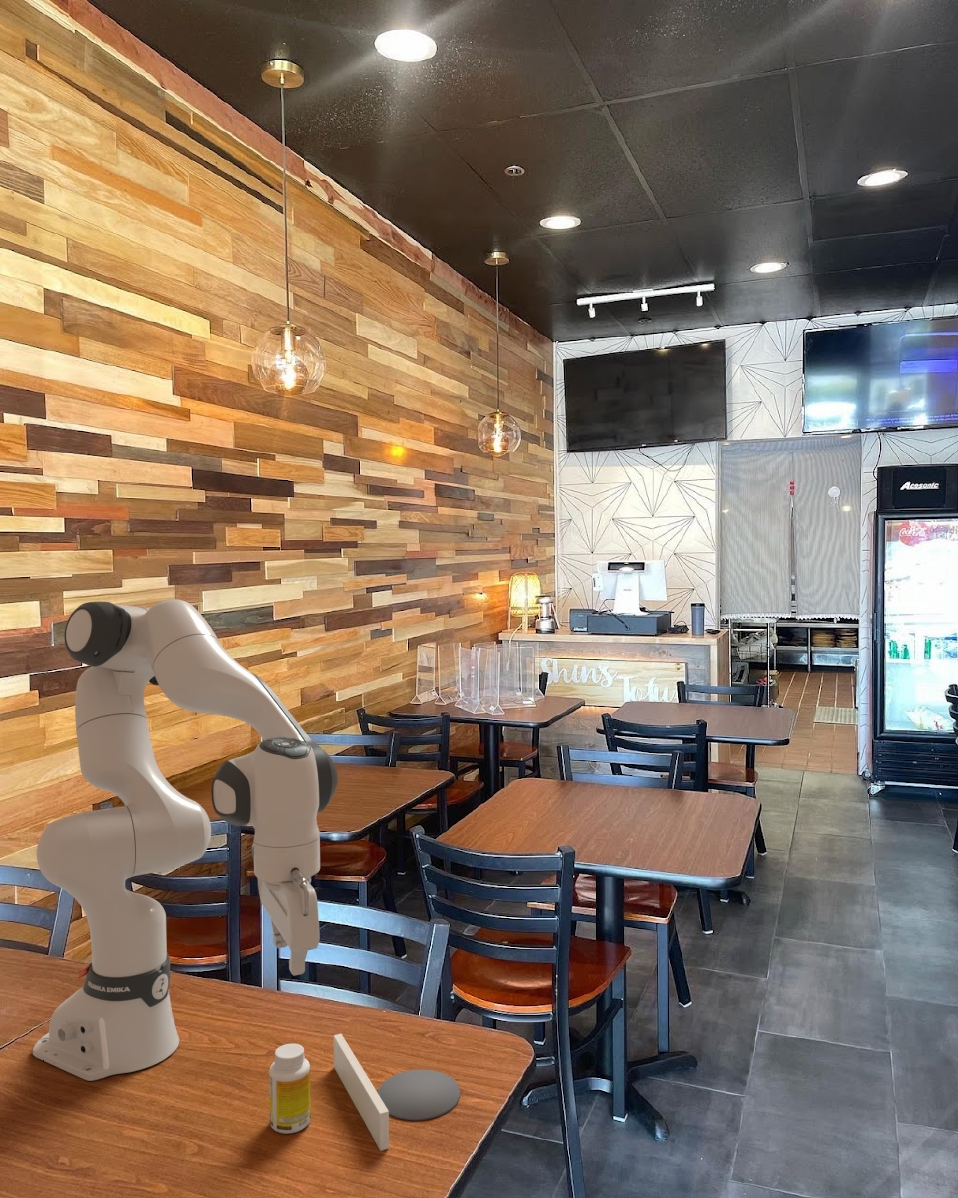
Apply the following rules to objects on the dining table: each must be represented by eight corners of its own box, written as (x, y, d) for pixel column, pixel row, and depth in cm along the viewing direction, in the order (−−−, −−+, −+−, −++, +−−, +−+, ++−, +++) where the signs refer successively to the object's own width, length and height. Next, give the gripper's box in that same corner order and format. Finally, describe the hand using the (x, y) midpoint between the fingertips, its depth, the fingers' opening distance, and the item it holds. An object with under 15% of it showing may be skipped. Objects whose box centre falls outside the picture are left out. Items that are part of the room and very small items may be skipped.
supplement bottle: (319, 1122, 126) (318, 1050, 125) (285, 1141, 122) (284, 1066, 121) (295, 1106, 130) (294, 1036, 129) (261, 1124, 126) (260, 1051, 125)
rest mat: (362, 1110, 129) (362, 1107, 129) (398, 1066, 140) (398, 1063, 140) (441, 1128, 124) (441, 1125, 124) (472, 1081, 136) (472, 1078, 136)
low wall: (389, 1148, 120) (388, 1111, 120) (380, 1151, 120) (380, 1113, 119) (341, 1065, 140) (341, 1033, 140) (334, 1067, 140) (333, 1035, 139)
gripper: (330, 878, 116) (332, 985, 117) (292, 836, 135) (293, 928, 135) (281, 886, 114) (283, 995, 114) (249, 842, 132) (250, 936, 133)
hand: (288, 959), depth 125 cm, fingers open, 8 cm apart
